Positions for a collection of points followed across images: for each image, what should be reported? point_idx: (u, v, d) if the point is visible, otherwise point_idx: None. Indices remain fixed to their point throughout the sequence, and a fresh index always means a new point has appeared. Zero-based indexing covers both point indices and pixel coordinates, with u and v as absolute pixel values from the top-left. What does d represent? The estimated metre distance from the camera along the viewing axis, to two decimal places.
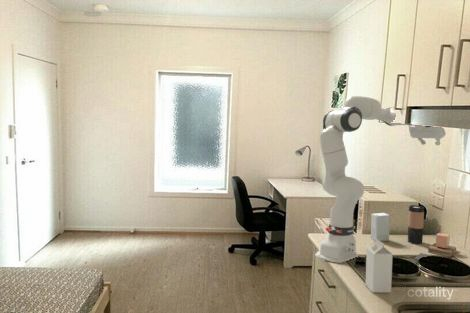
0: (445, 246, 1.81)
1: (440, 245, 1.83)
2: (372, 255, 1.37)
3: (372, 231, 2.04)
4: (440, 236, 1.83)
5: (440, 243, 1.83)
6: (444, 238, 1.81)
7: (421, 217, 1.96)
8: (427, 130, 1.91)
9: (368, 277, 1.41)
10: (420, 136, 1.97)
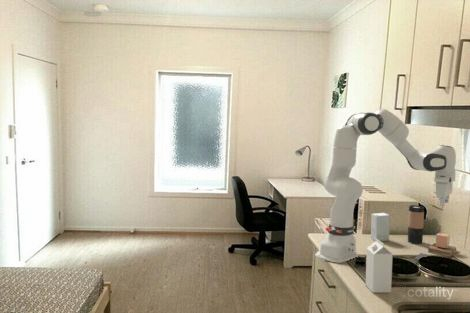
0: (445, 246, 1.81)
1: (440, 245, 1.83)
2: (372, 255, 1.37)
3: (372, 231, 2.04)
4: (440, 236, 1.83)
5: (440, 243, 1.83)
6: (444, 238, 1.81)
7: (421, 217, 1.96)
8: None
9: (368, 277, 1.41)
10: None
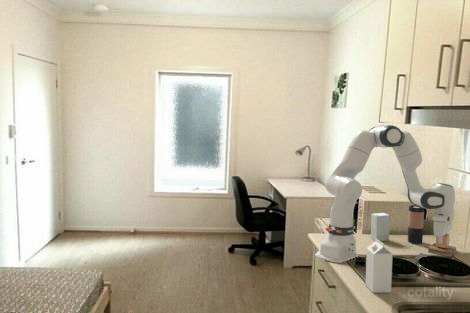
0: (445, 246, 1.81)
1: (440, 245, 1.83)
2: (372, 255, 1.37)
3: (372, 231, 2.04)
4: None
5: (440, 243, 1.83)
6: (444, 238, 1.81)
7: (421, 217, 1.96)
8: None
9: (368, 277, 1.41)
10: None
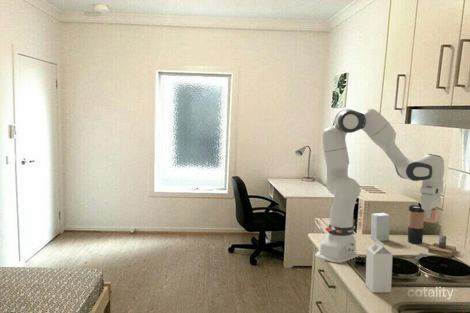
0: (433, 221, 1.70)
1: (428, 220, 1.72)
2: (372, 255, 1.37)
3: (372, 231, 2.04)
4: None
5: (428, 218, 1.72)
6: (433, 212, 1.70)
7: (421, 217, 1.96)
8: None
9: (368, 277, 1.41)
10: None
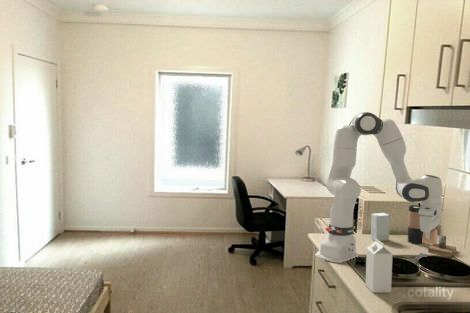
0: (432, 242, 1.70)
1: (427, 241, 1.71)
2: (372, 255, 1.37)
3: (372, 231, 2.04)
4: None
5: (427, 239, 1.71)
6: (432, 233, 1.70)
7: None
8: None
9: (368, 277, 1.41)
10: None
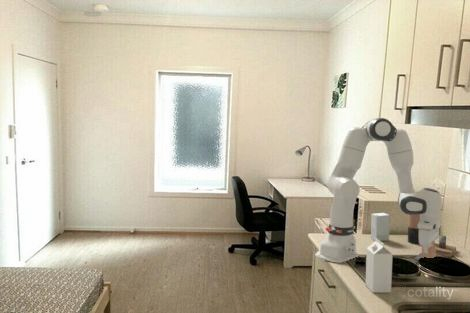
0: None
1: (426, 257, 1.72)
2: (372, 255, 1.37)
3: (372, 231, 2.04)
4: None
5: (426, 255, 1.72)
6: (430, 250, 1.71)
7: None
8: None
9: (368, 277, 1.41)
10: None
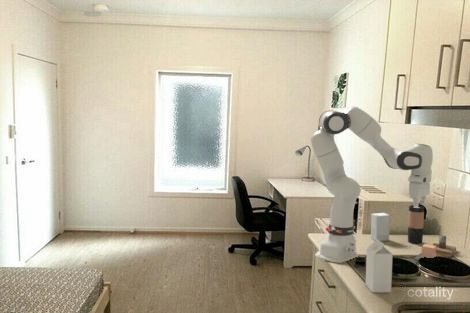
0: None
1: (426, 257, 1.72)
2: (372, 255, 1.37)
3: (372, 231, 2.04)
4: (426, 248, 1.72)
5: (426, 255, 1.72)
6: (430, 250, 1.71)
7: (421, 217, 1.96)
8: None
9: (368, 277, 1.41)
10: None
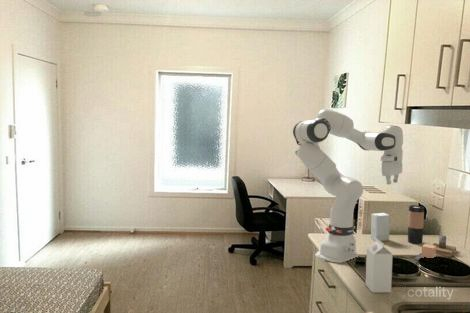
0: None
1: (426, 257, 1.72)
2: (372, 255, 1.37)
3: (372, 231, 2.04)
4: (426, 248, 1.72)
5: (426, 255, 1.72)
6: (430, 250, 1.71)
7: (421, 217, 1.96)
8: None
9: (368, 277, 1.41)
10: None
